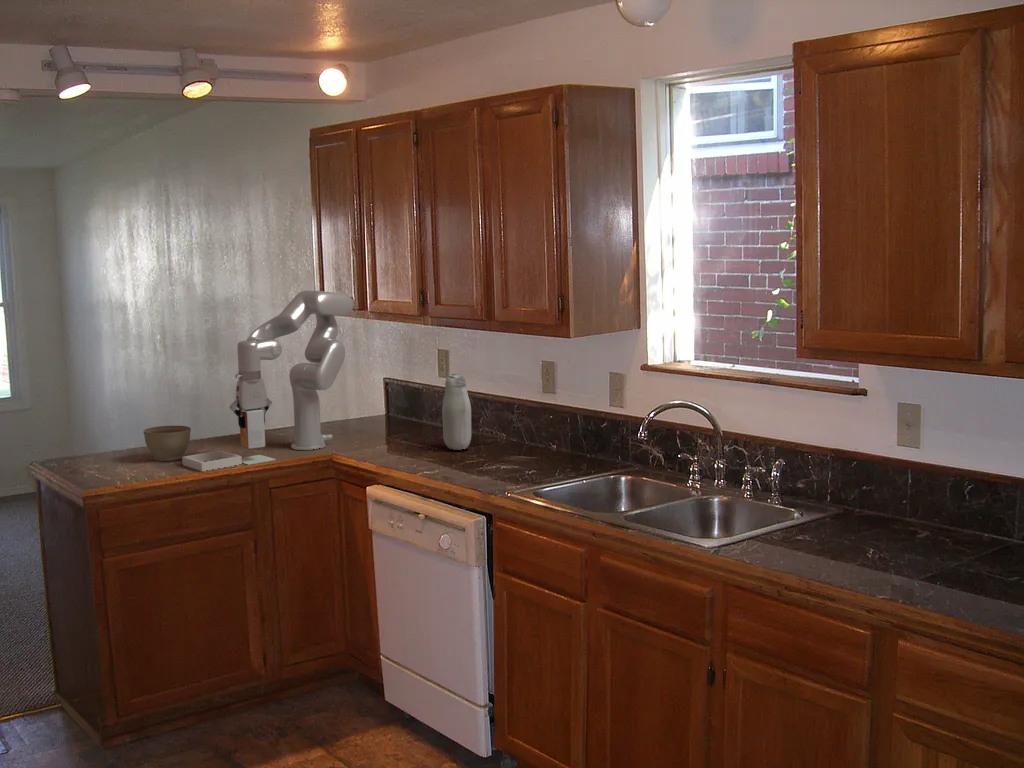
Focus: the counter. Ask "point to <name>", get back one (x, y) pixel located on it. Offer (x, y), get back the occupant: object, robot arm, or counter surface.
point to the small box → (253, 429)
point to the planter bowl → (167, 441)
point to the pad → (256, 459)
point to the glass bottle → (456, 413)
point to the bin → (199, 464)
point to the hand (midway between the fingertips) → (252, 425)
